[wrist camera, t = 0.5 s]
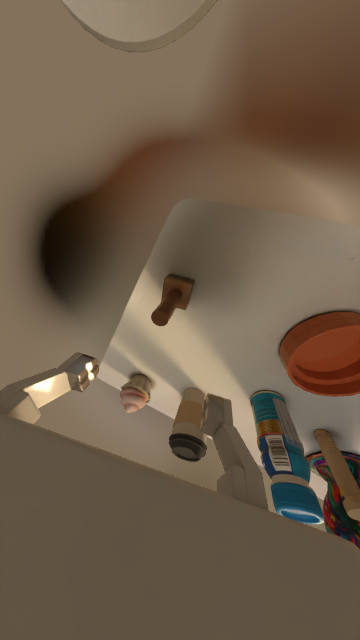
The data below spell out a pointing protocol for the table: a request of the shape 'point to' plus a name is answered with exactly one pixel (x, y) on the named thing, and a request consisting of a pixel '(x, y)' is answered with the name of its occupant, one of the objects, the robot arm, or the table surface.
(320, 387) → the bowl
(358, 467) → the vase
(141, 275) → the table surface
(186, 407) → the coffee cup
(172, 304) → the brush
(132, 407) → the cupcake
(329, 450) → the handle
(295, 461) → the beverage bottle
